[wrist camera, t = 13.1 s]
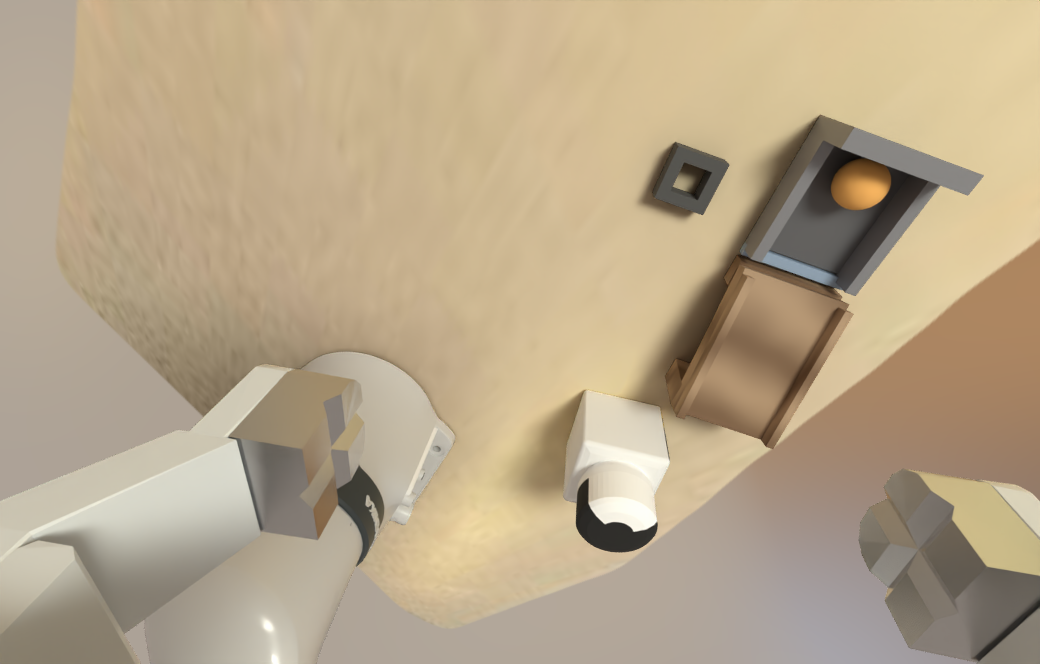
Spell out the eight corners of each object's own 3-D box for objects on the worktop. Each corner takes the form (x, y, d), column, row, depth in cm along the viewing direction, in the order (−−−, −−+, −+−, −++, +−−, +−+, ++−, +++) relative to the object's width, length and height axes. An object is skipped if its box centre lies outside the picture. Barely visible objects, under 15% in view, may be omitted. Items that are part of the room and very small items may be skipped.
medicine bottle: (637, 460, 49) (648, 572, 39) (566, 443, 49) (558, 551, 39) (661, 405, 46) (680, 513, 35) (584, 387, 46) (581, 489, 35)
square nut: (699, 208, 36) (702, 215, 35) (652, 192, 36) (654, 197, 35) (724, 159, 34) (729, 164, 33) (675, 141, 34) (678, 146, 33)
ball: (850, 167, 34) (830, 212, 35) (837, 148, 32) (816, 196, 33) (904, 172, 32) (882, 220, 33) (895, 151, 30) (871, 204, 30)
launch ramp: (750, 404, 44) (769, 452, 39) (665, 376, 44) (674, 420, 39) (835, 289, 38) (871, 328, 33) (737, 254, 38) (759, 289, 33)
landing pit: (837, 286, 38) (868, 318, 34) (739, 251, 37) (757, 279, 33) (933, 156, 33) (984, 175, 28) (820, 114, 32) (854, 127, 28)
